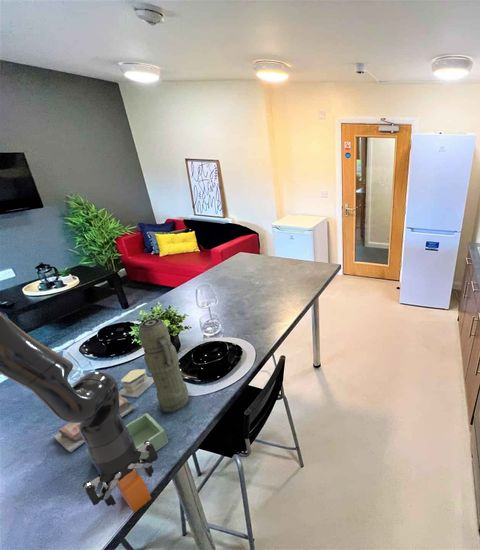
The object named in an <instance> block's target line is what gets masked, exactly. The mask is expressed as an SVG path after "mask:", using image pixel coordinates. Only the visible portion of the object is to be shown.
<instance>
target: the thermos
mask: <svg viewBox="0 0 480 550" xmlns="http://www.w3.org/2000/svg"><path fill="white" fill-rule="evenodd" d="M138 338H139V341H140V343H141V346H142V348H143V352H144V356H143V359H144V360H143V361H144V363H145V366H146V369H147V372H148V373H150V374H151V377H153V380H154V382H153V384H154V386H155V389H156V398H157V401H158V404H159V405H160V408H161V410H162V412H164V413H174V412H177V411H179V410H181V409H183V408H184V407H186V405H187V404H188V403H189V400H190V395H189V391H188V387H187V383H186V382H185V381H184V379H183V375H182V372H181V369H180V365H179V363H180V360H179V355H178V352H177V348H176V347H175V346H174V345H173V343H172V341H171V335H170V332H169V329H168V326H167V324H166V323H165V322H164V321H163V320H162V319H161V318H149V319H146V320H144V321H142V322H141V323H140V324H139V326H138Z"/></svg>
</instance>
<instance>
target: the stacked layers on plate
mask: <svg viewBox="0 0 480 550" xmlns="http://www.w3.org/2000/svg"><path fill="white" fill-rule="evenodd" d="M147 374H148V373H147V371H146V369H145V368H143V369H142V368H140V369H132V370H131V371H129V372H128V373H126V375H125V376H124V377H123V378H121V380H120V382H121V385H123V387H122V388H121V389H119V395H120V396H125V397H133V398H138V397H140V396H141V395H142V394H143V393H144V392H145V391H146V390H147V389H148V388H149V387H150V386H151V385H152V384H154V380H153V377H152V376H148V375H147Z"/></svg>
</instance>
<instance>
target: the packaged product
mask: <svg viewBox="0 0 480 550" xmlns="http://www.w3.org/2000/svg"><path fill="white" fill-rule="evenodd" d="M134 410H135V407H134V406H133V405H131V403H130V401H129V400H128V399H127V398H125V397H123V395H119V413H120V415H121V417H122V418H123V417H125V416H126V415H128V414H129V413H131V412H132V411H134ZM79 425H80V423H70V422H67V423H66V424H65V425H63V426H62V427H60V428H59V429H58V432H57V433H56V434H54V435H53V438H54V439H55V441H57V442H58V443H59V444H60V445H61V446H62V447H63V448H64V449H65V450H66V451H68V452H70V453H72V452H73V451H74V450H76V449H78V448H79V447H80V446H81V445H83V444H84V443H85V442H84V440H83V438H82V436H81V434H80V432H79Z"/></svg>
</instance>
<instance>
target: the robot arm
mask: <svg viewBox="0 0 480 550" xmlns="http://www.w3.org/2000/svg"><path fill="white" fill-rule="evenodd" d="M73 368H74V364H73V362H71V360H69V359H67V358H66V357H64V356H62V355H61V354H59V353H58V352H56V351H55V350H53V349H51V348H50V347H49V346H46V345H45V344H43V343H41V342H40V341H39V340H37V339H36V338H34V337H32V336H31V335H29V334H28V333H27V332H25V331H24V330H23V329H21V328H20V327H19V326H17V324H15V323H14V322H13V321H12V320H10V319H9V318H8V317H7V316H6V315H5V314H3V313H2V312H1V311H0V374H1V375H2V376H4V377H6V378H8V379H9V380H11V381H13V382H14V383H17V384H18V385H20V386H22V387H25V388H26V389H28V390H30V391H31V392H32V393H33V394H34V395H35V396H36V397H37V398H38V399H39V400H40V401H41V402H42V403H43V404H44V405H45V406H46V407H47V409H48V410H49V411H50V413H52V414H53V415H54V416H55V417H56V418H57V419H59V420H61V421H63V422H66V423H80V425H79V432H80V434H81V436H82V438H83V440H84V443H85V446H86V450H88V453H89V455H90V457H91V459H92V461H93V463H94V464H95V466H96V467H95V466H94V467H95V468H96V470H97V472H98V474H97V477H95V478H94V479H93V480H91V481H89V480H87V481H85V482H83V483H82V487H83V489H84V491H85V493H86V496H87V497H88V499H89V500H90V501H91V504H92V505H93V506H98V504H99V503H100V502H101V501H104V503H105V505H106V506H107V507H110V506H112V507H114V506H115V505H116V504H117V503H116V501H115V499H114V497H113V495H112V491H113V490H115V488H116V487H117V485H116V484H117V481H118V480H119V481H120V480H121V479H122V478H124V477H125V476H126V475H127V474H129V473H131V472H132V471H133V469H135V470H136V469H137V470H138V469H139V470H142V469H143V470H144V472H145V474H146V476H147V477H148V478H151V477H152V476H153V473H154V472H155V471H154V468H153V465H152V464H153V462H155V461H157V460H158V459H159V456H158V452H157V451H155V448H154V446H153V445H152V443H151V442H150V441H149V440H146V441H145V442H144V445H143V446H142V447H140V448H139V449H137V448H136V447H135V444H134V442H133V439H132V436H131V434H130V432H129V430H128V429H127V427H126V424H125V422H124V420H123V417H121V415H120V413H119V391H120V389H119V386H118V385H119V384H118V382H117V380H116V379H115V378H114V377H113V376H112V375H111V374H109V373H108V372H105V371H100V370H99V371H97V370H96V371H91V372H89V373H86V374H85V375H83V376H82V377H81V378H80V379H78V380H77V381H76V382H75V384H74V385H71V383H70V382H69V380H68V379H69V375H70V373H72V371H73ZM142 452H145V453H148V455H149V456H148V457H147V458H140V456H141V453H142ZM88 453H87V454H88ZM89 455H88V456H89ZM90 457H89V458H90ZM91 459H90V460H91ZM92 461H91V462H92ZM93 463H92V464H93ZM94 464H93V465H94ZM100 482H101V483H102V486H101V488H100V490H99V492H96V491H97V490H98V487H99V484H100Z"/></svg>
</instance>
